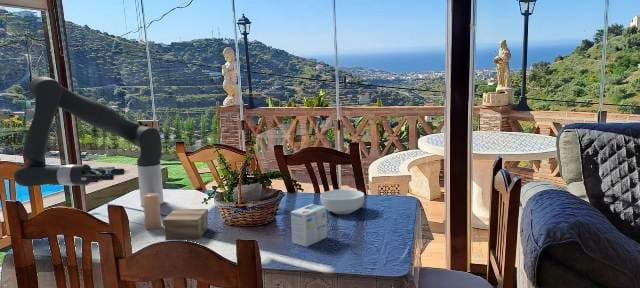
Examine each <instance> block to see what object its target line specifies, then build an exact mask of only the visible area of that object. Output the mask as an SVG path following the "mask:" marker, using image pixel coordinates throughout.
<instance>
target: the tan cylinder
mask: <svg viewBox="0 0 640 288" xmlns="http://www.w3.org/2000/svg"><path fill="white" fill-rule="evenodd" d="M143 205H144V206H143V213H144V223H145V226H144V227H145V229H146V230H156V229H160V228H161V227H162V215H161V205H160V202H159V194H158V193H148V194H145V195H143Z"/></svg>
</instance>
